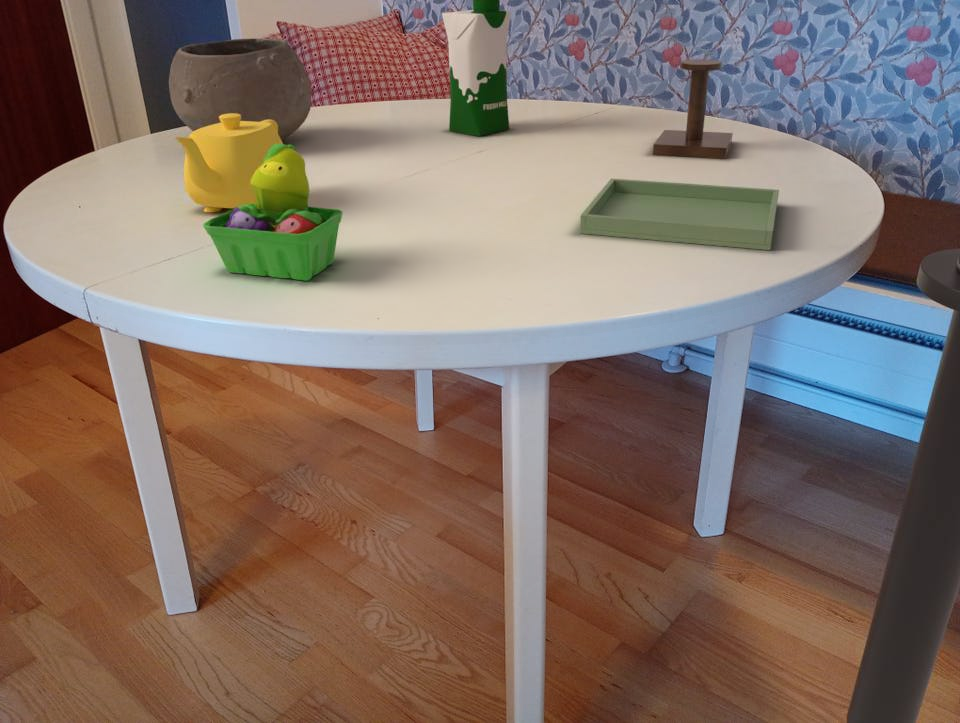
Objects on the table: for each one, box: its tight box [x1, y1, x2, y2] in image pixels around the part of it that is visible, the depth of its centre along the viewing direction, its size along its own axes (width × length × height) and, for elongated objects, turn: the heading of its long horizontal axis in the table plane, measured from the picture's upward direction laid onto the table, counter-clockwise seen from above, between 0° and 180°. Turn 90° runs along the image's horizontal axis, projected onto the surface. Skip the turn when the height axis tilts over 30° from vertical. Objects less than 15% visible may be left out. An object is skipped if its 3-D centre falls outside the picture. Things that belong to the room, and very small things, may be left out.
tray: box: [579, 178, 780, 251], centre depth 90 cm, size 19×15×2 cm
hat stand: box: [652, 58, 733, 160], centre depth 117 cm, size 10×10×12 cm
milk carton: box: [441, 0, 512, 137], centre depth 130 cm, size 9×9×20 cm
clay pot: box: [168, 38, 312, 141], centre depth 126 cm, size 21×21×15 cm
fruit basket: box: [202, 143, 343, 281], centre depth 78 cm, size 11×9×11 cm
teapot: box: [174, 113, 284, 213], centre depth 96 cm, size 18×11×11 cm, turn 159°
